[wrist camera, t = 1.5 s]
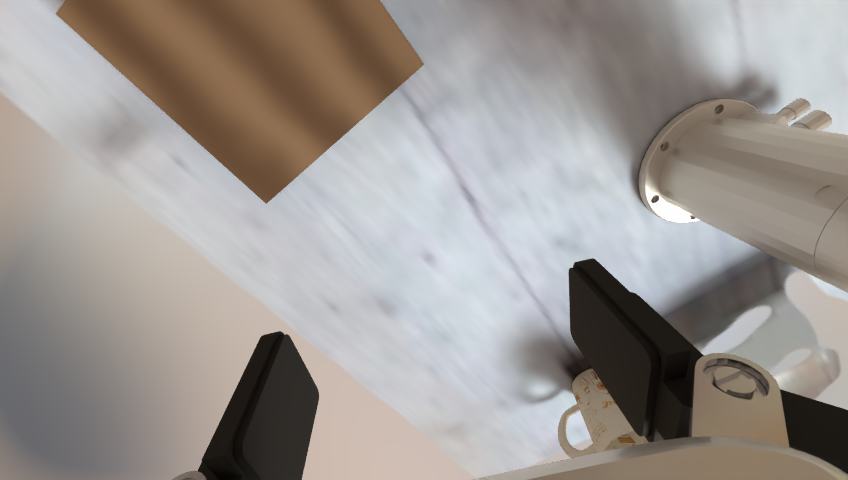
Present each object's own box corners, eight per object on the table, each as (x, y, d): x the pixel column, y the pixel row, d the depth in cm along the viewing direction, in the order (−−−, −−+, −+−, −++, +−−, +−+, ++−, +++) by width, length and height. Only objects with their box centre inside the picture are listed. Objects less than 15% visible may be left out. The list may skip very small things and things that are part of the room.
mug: (630, 377, 50) (682, 444, 41) (564, 424, 54) (598, 494, 45) (597, 352, 47) (646, 418, 38) (530, 403, 51) (559, 474, 42)
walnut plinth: (249, -182, 22) (230, -216, 20) (421, 64, 30) (424, 64, 27) (89, 19, 26) (55, 13, 23) (276, 192, 33) (266, 203, 31)
